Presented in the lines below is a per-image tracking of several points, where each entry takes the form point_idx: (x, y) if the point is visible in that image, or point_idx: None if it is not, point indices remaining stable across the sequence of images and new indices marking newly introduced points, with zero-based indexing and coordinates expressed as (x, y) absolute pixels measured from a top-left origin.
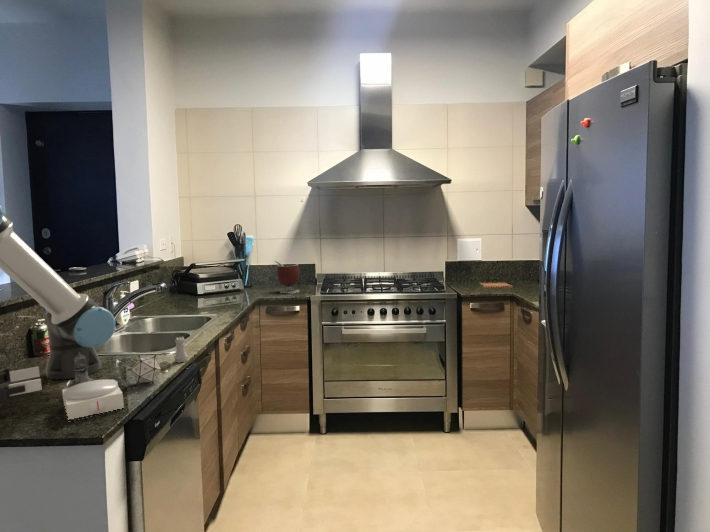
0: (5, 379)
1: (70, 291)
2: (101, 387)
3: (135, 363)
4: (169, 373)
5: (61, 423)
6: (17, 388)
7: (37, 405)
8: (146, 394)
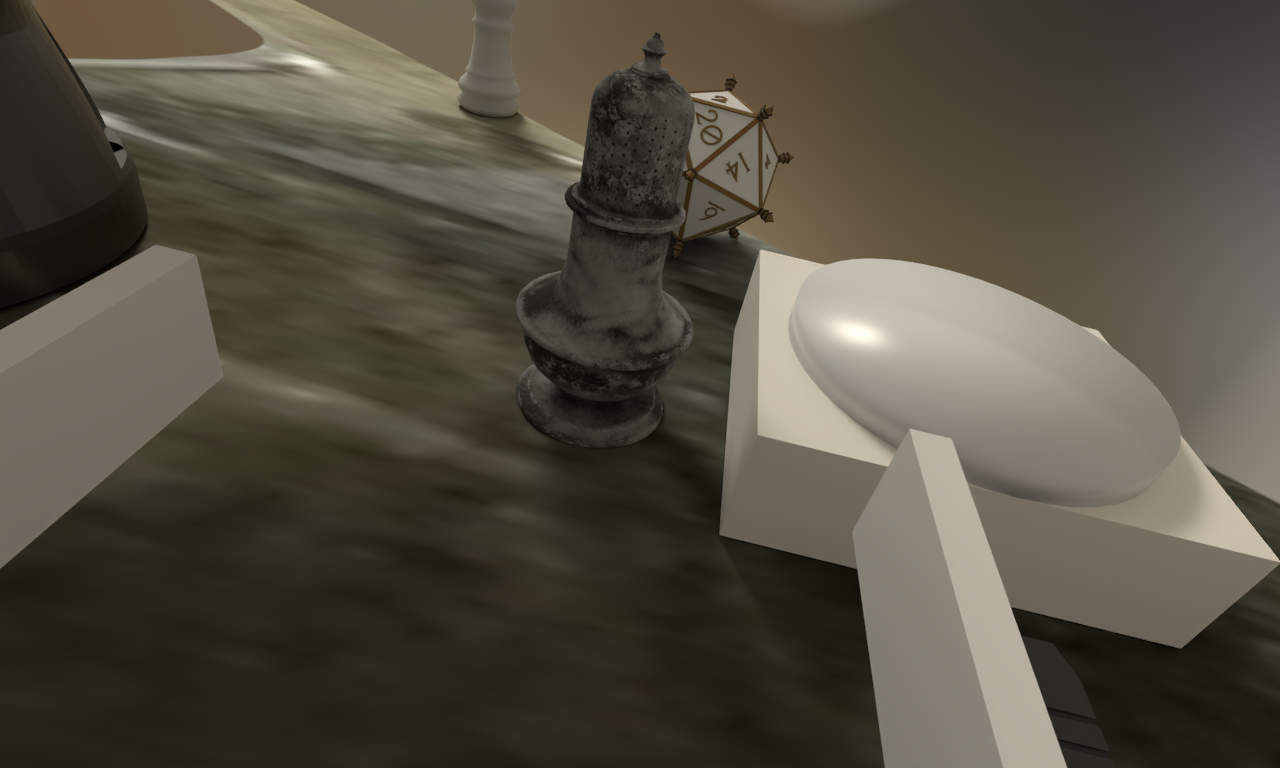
0: None
1: None
2: (1018, 329)
3: None
4: None
5: (1203, 694)
6: (1101, 763)
7: (525, 673)
8: None
